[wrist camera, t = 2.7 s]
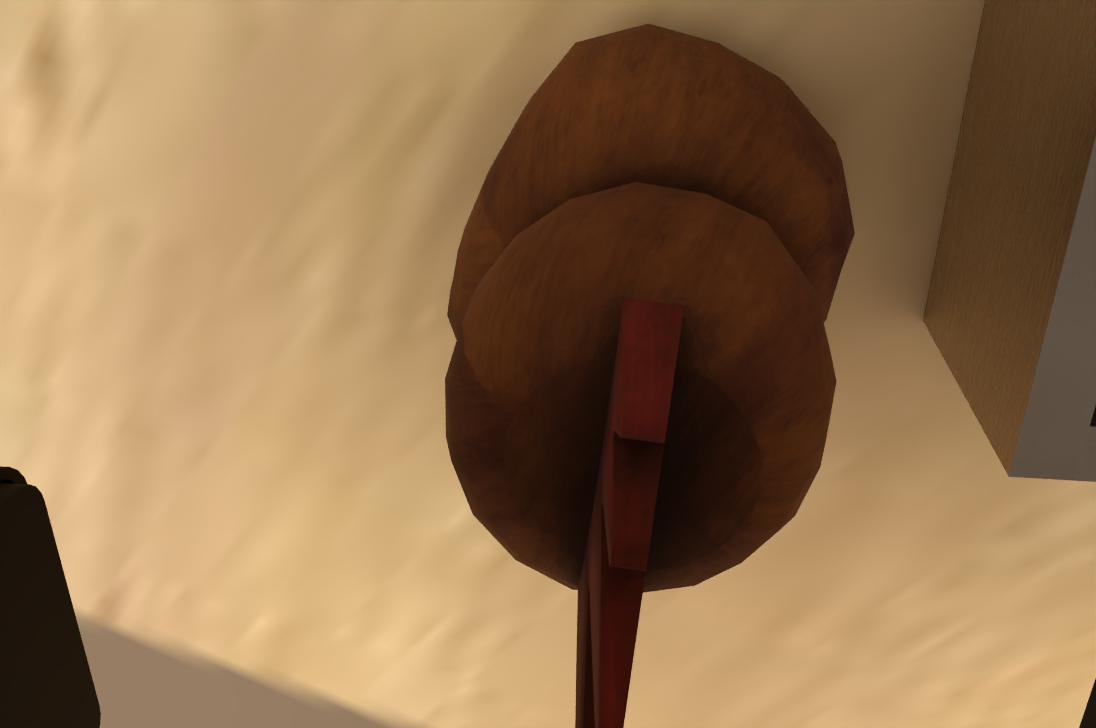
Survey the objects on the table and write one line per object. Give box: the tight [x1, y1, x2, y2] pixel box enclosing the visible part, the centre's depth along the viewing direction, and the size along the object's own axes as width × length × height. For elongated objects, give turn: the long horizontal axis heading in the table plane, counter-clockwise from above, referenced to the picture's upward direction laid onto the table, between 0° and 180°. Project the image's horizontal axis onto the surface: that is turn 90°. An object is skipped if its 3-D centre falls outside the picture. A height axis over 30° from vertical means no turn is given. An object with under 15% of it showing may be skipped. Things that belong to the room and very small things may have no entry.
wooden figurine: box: [445, 24, 854, 728], centre depth 14 cm, size 7×6×15 cm
